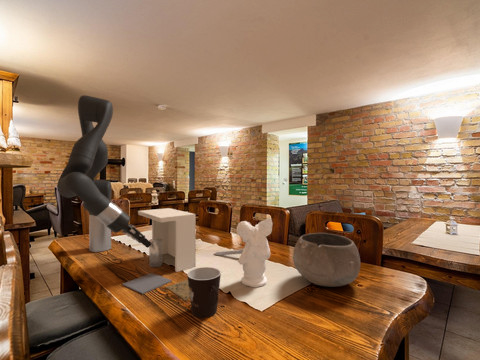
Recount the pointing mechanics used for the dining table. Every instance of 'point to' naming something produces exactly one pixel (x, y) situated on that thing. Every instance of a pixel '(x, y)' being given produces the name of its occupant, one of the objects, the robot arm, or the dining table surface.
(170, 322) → the dining table surface
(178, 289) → the cookie
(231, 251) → the caliper
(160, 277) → the rubber mat
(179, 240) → the white c-shaped side table
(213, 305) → the coffee mug
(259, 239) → the cherub figurine
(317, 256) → the clay pot
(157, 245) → the pale cylinder
